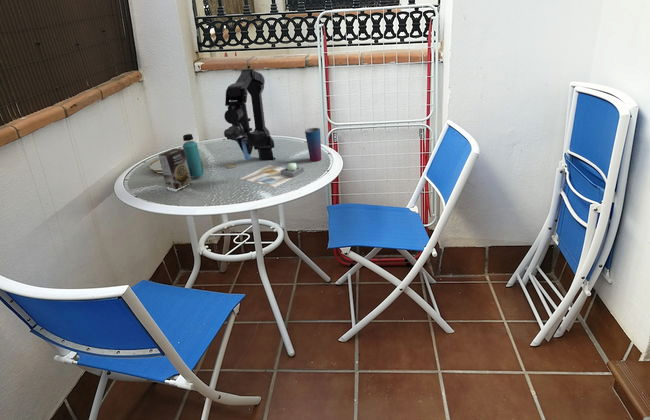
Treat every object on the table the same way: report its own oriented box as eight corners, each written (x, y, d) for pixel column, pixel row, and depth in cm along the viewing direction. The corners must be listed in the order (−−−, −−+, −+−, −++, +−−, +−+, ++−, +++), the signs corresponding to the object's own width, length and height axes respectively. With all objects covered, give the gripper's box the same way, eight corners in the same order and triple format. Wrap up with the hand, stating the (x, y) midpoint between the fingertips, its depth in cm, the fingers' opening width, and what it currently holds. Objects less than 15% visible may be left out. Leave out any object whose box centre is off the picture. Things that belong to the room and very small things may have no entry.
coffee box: (177, 192, 203) (167, 156, 197) (166, 190, 207) (157, 154, 200) (192, 184, 210) (184, 149, 203) (182, 182, 214) (174, 147, 207)
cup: (321, 164, 217) (318, 131, 210) (307, 164, 218) (303, 132, 212) (324, 159, 223) (321, 127, 216) (310, 159, 224) (306, 128, 218)
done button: (285, 171, 207) (284, 165, 205) (292, 168, 209) (291, 162, 208) (292, 173, 204) (291, 166, 203) (298, 170, 207) (298, 163, 206)
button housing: (281, 175, 207) (280, 170, 206) (292, 169, 212) (291, 165, 211) (293, 177, 203) (292, 173, 202) (304, 171, 207) (303, 167, 207)
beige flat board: (237, 181, 208) (236, 179, 208) (269, 166, 222) (269, 163, 221) (275, 190, 194) (275, 188, 194) (307, 173, 208) (307, 171, 207)
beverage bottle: (207, 175, 219) (198, 132, 210) (199, 180, 213) (189, 137, 205) (195, 174, 221) (185, 132, 213) (187, 180, 215) (176, 137, 207)
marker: (242, 159, 203) (239, 140, 200) (248, 156, 205) (244, 138, 202) (247, 160, 202) (244, 141, 198) (253, 157, 204) (249, 139, 200)
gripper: (210, 120, 196) (218, 157, 203) (241, 124, 185) (248, 163, 192) (231, 113, 204) (237, 148, 210) (262, 117, 193) (268, 154, 199)
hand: (247, 153), depth 203 cm, fingers closed on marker, 3 cm apart
